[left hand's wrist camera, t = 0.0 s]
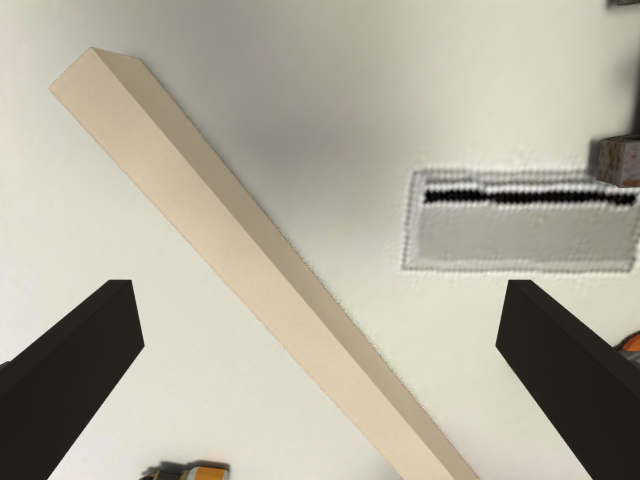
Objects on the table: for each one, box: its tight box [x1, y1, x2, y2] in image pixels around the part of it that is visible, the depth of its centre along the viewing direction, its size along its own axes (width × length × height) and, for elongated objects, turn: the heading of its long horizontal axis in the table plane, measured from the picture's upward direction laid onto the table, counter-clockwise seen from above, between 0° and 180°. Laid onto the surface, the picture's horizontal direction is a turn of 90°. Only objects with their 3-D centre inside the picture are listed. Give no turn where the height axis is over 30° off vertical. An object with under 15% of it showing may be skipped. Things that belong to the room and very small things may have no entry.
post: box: [48, 47, 480, 480], centre depth 42 cm, size 72×5×8 cm, turn 36°
